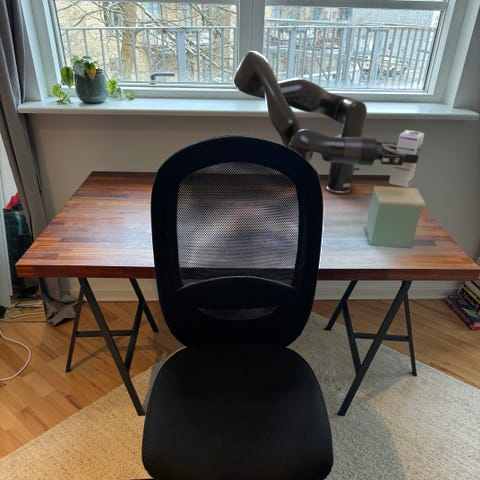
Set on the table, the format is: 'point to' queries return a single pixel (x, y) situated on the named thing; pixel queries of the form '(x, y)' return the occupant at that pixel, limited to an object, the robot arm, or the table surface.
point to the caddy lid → (399, 196)
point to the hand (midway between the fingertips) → (414, 154)
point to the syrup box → (406, 145)
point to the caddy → (391, 223)
